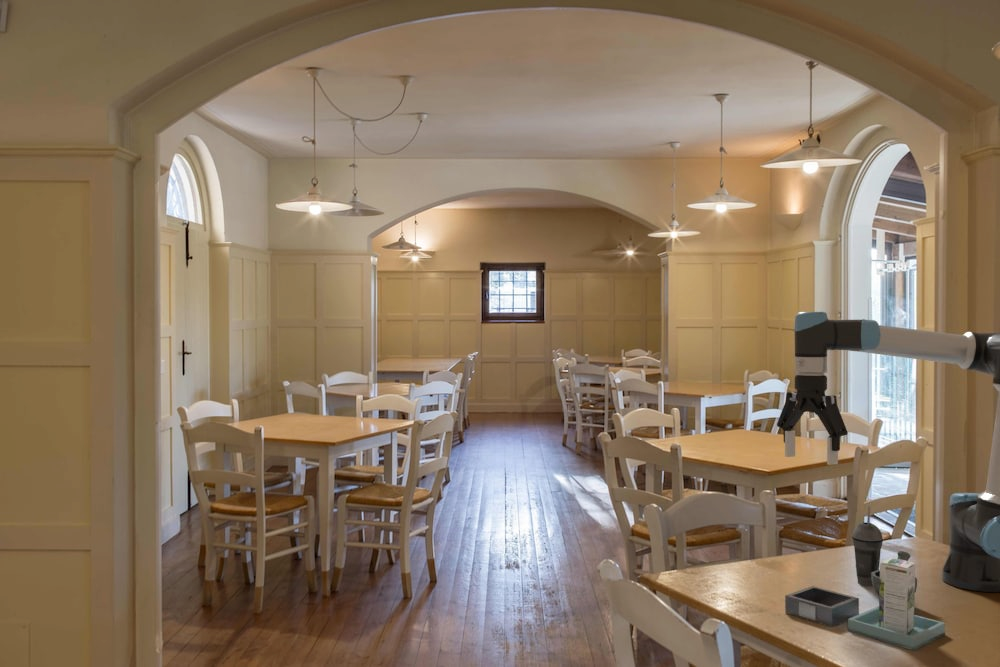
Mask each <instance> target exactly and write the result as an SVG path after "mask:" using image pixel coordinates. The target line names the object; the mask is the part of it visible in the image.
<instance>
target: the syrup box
mask: <svg viewBox="0 0 1000 667" xmlns="http://www.w3.org/2000/svg"><path fill="white" fill-rule="evenodd" d="M879 570H880V589H879V595H878V596H879V597H878V598H879V599H878V600H879V601H878V602H879V603H878V604H879V605H878V606H879V627H882V628H885V629H889V630H892V631H896V632H899V633H902V634H906V635H908V634H909V633H910V632H911V631H912V630H913V629H914V615H915V603H916V602H915V600H916V592H915V577H916V563H915V562H912V561H909V560H908V561H905V560H900V559H897V558H894V557H893V558H890V557H888V558H886V559H885V560H884V561H882V562H881V563H879Z"/></svg>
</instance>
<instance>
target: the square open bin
mask: <svg viewBox="0 0 1000 667" xmlns="http://www.w3.org/2000/svg"><path fill="white" fill-rule="evenodd" d="M784 599H785V600H784V601H785V602H784V603H785V604H784V608H785V610H784V611H785V612H784V613H785V614H788V615H790V614H791V616H794V617H798V618H800V617H801V618H802V619H804V620H807V619H808V621H810V620H812V621H811V622H814V623H817V622H818V624H820V623H822V624H821V625H823V624H825V625H824V626H826V627H830V628H833V627H836V626H838V625H840V624H842V623H843V624H844V623H845V622H848V619H849V618H852V617H854V616H857V615H859V614H860V600H859V599H860V598H859V597H856V596H853V595H848V594H844V593H842V592H836V591H834V590H829V589H826V588H823V587H818V586H815V585H811V586H808V587H805V588H802V589H800V590H797V591H793V592H791V593H788V594H786V595H785V598H784Z"/></svg>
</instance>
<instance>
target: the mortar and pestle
mask: <svg viewBox="0 0 1000 667" xmlns="http://www.w3.org/2000/svg"><path fill="white" fill-rule="evenodd" d="M911 557H912V556H911V554H910V553H909V552H907V551H904V550H898V551H897V558H896V559H900V560H905V561H909V559H910V558H911ZM871 580H872V585H873V587H872V588H873V589H874V591H875V592H876V595H878V596H879V589H880V569H879V570H877V571H874V572H871ZM917 587H918V578H917V577H916V576H915V593H916V592H917Z"/></svg>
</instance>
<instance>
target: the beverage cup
mask: <svg viewBox="0 0 1000 667" xmlns="http://www.w3.org/2000/svg"><path fill="white" fill-rule="evenodd" d="M870 513H871V506H867V522H861V523H858V525H856V526H855V528H854V529H853V532H852V536H851V538H852V543H853V549H854V560H855V568H856V569H855V572H856V578H857V579H856V580H857V584H859V585H860V586H864V587H869V586H873V585H872V580H871V572H874V571H877V570H880V564H881V563H880V562H881V561H880V560H881V552H882V550H881V549H882V547H883V542H884V539H883V534H882V531H881V530H880V528H879V527H878V526H877V525H875V524H873V523H871V522H870V519H871V518H870V517H871V514H870Z"/></svg>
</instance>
